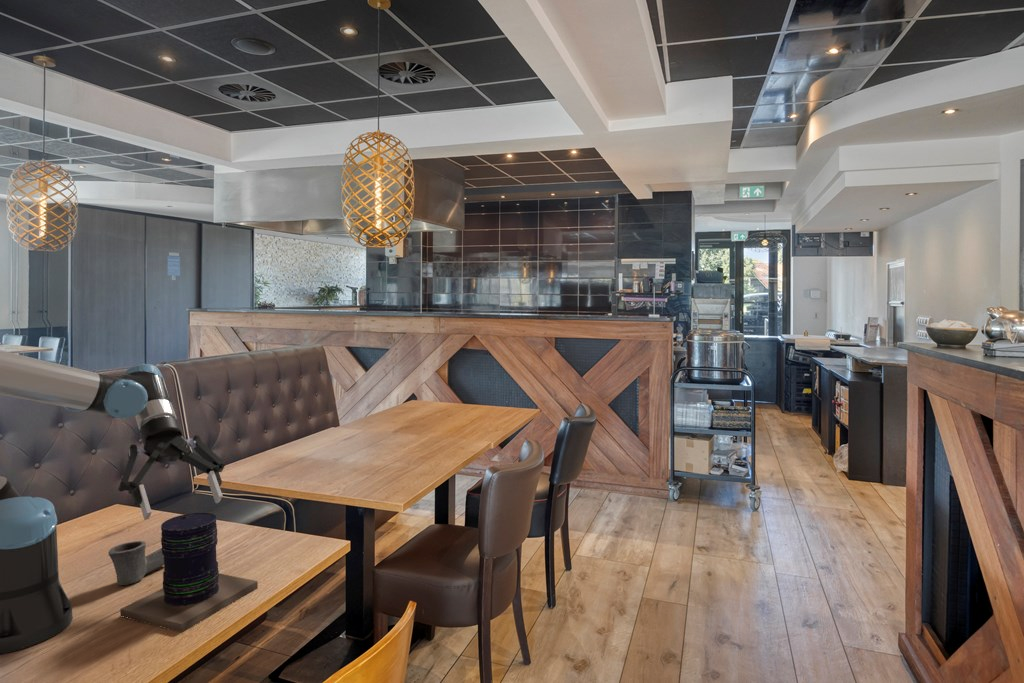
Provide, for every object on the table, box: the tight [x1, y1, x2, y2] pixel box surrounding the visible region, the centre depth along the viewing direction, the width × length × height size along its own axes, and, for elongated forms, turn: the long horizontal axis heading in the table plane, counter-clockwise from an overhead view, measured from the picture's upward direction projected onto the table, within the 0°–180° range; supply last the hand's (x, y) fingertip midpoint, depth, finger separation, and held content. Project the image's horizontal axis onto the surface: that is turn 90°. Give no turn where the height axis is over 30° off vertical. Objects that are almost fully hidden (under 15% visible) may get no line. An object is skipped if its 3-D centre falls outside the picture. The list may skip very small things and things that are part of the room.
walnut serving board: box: [119, 573, 259, 633], centre depth 117 cm, size 18×16×2 cm
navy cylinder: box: [160, 512, 220, 606], centre depth 117 cm, size 10×10×15 cm
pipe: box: [108, 540, 164, 586], centre depth 128 cm, size 6×13×8 cm, turn 161°
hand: (185, 507), depth 121 cm, fingers open, 13 cm apart
